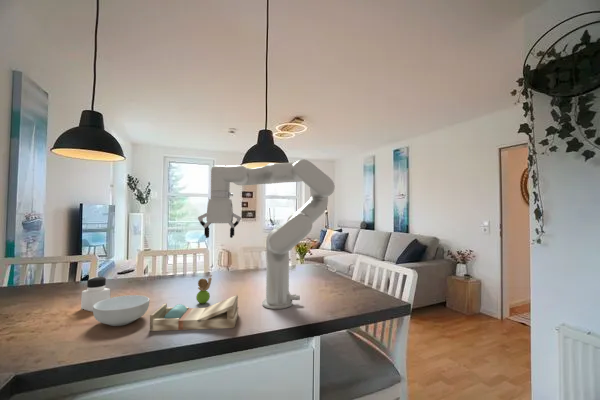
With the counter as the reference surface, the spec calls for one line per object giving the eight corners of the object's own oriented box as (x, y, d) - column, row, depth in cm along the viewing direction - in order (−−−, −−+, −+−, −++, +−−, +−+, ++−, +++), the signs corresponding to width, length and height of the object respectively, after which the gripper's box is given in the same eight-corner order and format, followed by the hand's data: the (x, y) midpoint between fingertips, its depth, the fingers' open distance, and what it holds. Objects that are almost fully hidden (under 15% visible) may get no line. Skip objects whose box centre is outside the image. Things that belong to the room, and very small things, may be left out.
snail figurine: (207, 305, 117) (208, 276, 117) (193, 304, 118) (194, 275, 119) (214, 301, 122) (214, 273, 123) (200, 300, 123) (201, 273, 124)
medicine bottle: (110, 306, 116) (111, 276, 116) (91, 311, 109) (92, 280, 110) (99, 303, 119) (100, 275, 119) (80, 309, 112) (81, 278, 113)
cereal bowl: (106, 336, 88) (107, 313, 89) (83, 324, 97) (84, 303, 97) (158, 318, 103) (159, 299, 103) (134, 310, 111) (134, 292, 112)
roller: (189, 308, 103) (177, 301, 103) (182, 316, 95) (169, 309, 95) (181, 320, 103) (169, 313, 102) (173, 329, 95) (160, 322, 94)
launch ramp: (238, 314, 107) (238, 294, 107) (233, 327, 95) (234, 305, 95) (163, 317, 104) (164, 296, 104) (149, 330, 92) (150, 307, 92)
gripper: (242, 196, 121) (241, 236, 121) (200, 196, 120) (200, 236, 119) (240, 195, 114) (239, 238, 113) (196, 195, 112) (195, 238, 111)
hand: (219, 237), depth 116 cm, fingers open, 9 cm apart
